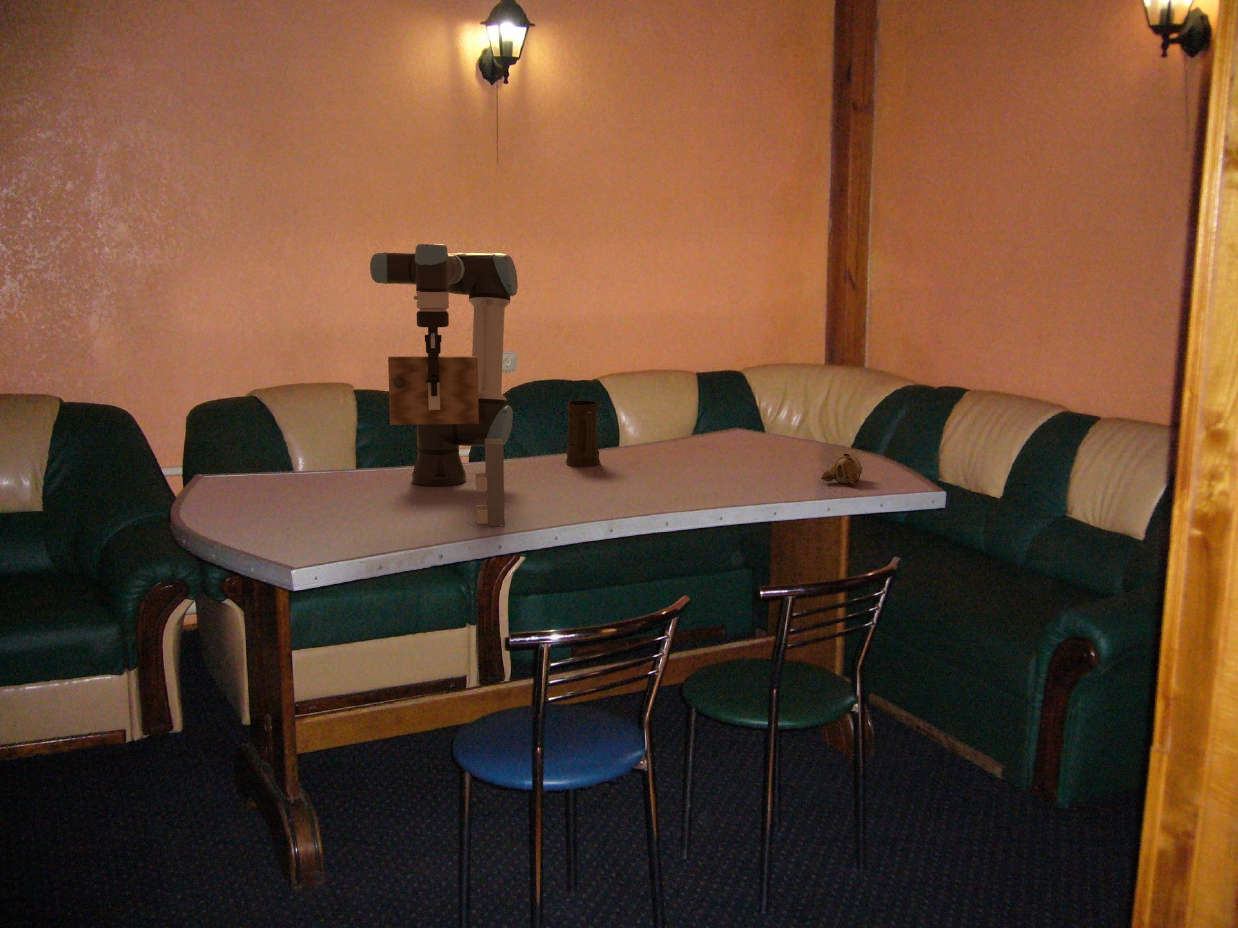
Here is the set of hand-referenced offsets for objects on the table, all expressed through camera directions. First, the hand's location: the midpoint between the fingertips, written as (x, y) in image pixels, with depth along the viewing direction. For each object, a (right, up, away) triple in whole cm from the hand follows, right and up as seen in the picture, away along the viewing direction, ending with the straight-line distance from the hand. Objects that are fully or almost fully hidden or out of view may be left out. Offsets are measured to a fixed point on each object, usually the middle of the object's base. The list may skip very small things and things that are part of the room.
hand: (434, 408), depth 258 cm
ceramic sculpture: (+109, -19, +50) cm, 122 cm away
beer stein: (+34, -14, +72) cm, 81 cm away
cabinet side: (+13, -28, +2) cm, 31 cm away
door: (0, -4, +1) cm, 4 cm away
